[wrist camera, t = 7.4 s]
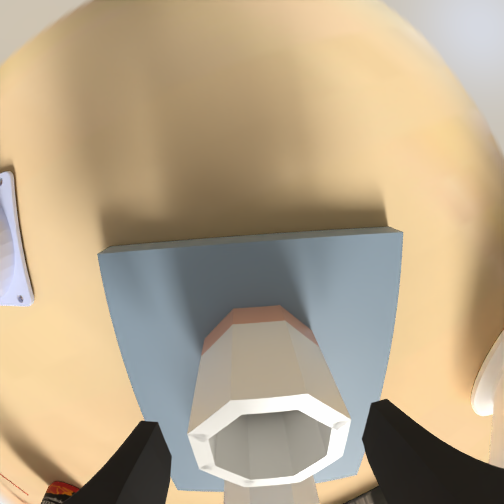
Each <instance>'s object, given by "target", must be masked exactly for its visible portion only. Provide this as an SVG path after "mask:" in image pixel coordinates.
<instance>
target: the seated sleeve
mask: <svg viewBox="0 0 504 504" xmlns="http://www.w3.org/2000/svg"><path fill="white" fill-rule="evenodd" d="M224 504H320V503H319V498H318V494H317V490H316V486H315V481H314V477H313V475H311V476H310V477H308V478H306V479H305V480H303V481H301V482H297V483H290V484H281V485H271V486H258V487H243V486H240V485H237V484H234V483H232V482H229V481H227V480H224Z"/></svg>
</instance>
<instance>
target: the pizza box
mask: <svg viewBox="0 0 504 504" xmlns="http://www.w3.org/2000/svg"><path fill="white" fill-rule="evenodd" d="M343 504H388V503H387V501H386V499H385V497H384V495H383V493H382V490H381V488H380V486H378V487H376V488H374V489H372V490H370V491H368V492H366V493H364V494H362V495H360V496H358V497H356V498H354V499H352V500H350V501H348V502H346V503H343Z"/></svg>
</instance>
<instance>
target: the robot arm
mask: <svg viewBox="0 0 504 504" xmlns="http://www.w3.org/2000/svg"><path fill="white" fill-rule="evenodd" d="M1 180H2V183H1ZM21 296H22V298H23V299H22V298H21ZM33 303H34V295H33V292H32V288H31V284H30V280H29V276H28V271H27V267H26V262H25V258H24V253H23V247H22V242H21V236H20V230H19V223H18V216H17V207H16V198H15V187H14V176H13V173H12V172H11V171H5V172H2V173H0V305H2V306H30V305H32V304H33ZM362 441H363V445H364V449H365V452H366V455H367V458H368V462H369V464H370V466H371V468H372V471H373V473H374V475H375V477H376V479H377V482H378V484H379V486H380V488H381V490H382V493H383V495H384V497H385V499H386V501H387V503H388V504H504V468H500V467H497V466H494V465H491V464H488V463H485V462H482V461H480V460H477V459H475V458H473V457H471V456H469V455H467V454H465V453H462V452H460V451H459V450H457V449H455V448H453V447H452V446H450V445H448V444H447V443H445V442H443V441H442V440H440V439H439V438H437V437H436V436H434V435H433V434H431V433H430V432H429V431H427V430H426V429H424V428H423V427H422V426H420V425H419V424H418V423H416V422H415V421H414V420H412V419H411V418H410V417H409V416H407V415H406V414H405V413H404V412H402V411H401V410H400V409H399V408H397V407H396V406H395V405H394V404H392V403H391V402H390V401H389V400H387V399H384V400H381V401H376V402H372V403H371V405H370V409H369V414H368V418H367V421H366V425H365V429H364V433H363V436H362ZM171 461H172V455H171V453H170V451H169V448H168V446H167V444H166V441H165V439H164V436H163V434H162V431H161V429H160V426H159V423H158V422H152V421H141V422H139V424H138V425H137V426H136V427H135V429H134V430H133V431H132V433H131V434H130V435H129V436H128V438H127V439H126V440H125V442H124V443H123V444H122V445H121V446H120V448H119V449H118V450H117V451H116V452H115V454H114V455H113V456H112V457H111V458H110V459H109V461H108V462H107V463H106V464H105V465H104V466H103V467H102V468H101V469H100V470H99V471H98V472H97V473H96V474H95V475H94V476H93V477H92V479H91V480H90V481H88V482H87V483H86V484H85V485H84V486H83V487H82V488H81V489H80V490H78V491H77V492H76V493H75V494H73V495H72V496H71V497H70V498H68V499H67V500H65V501H64V502H63V503H61V504H165V502H166V497H167V492H168V488H169V483H170V475H171Z"/></svg>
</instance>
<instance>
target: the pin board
mask: <svg viewBox="0 0 504 504" xmlns="http://www.w3.org/2000/svg"><path fill="white" fill-rule="evenodd" d="M402 244H403V232H402V231H399V230H396V229H394V228H391V227H371V228H353V229H335V230H319V231H303V232H287V233H272V234H258V235H244V236H230V237H217V238H204V239H191V240H179V241H167V242H155V243H143V244H132V245H121V246H110V247H108V248H107V249H105V250H103V251H102V252H100V253H98V254H97V255H98V260H99V266H100V271H101V276H102V281H103V286H104V290H105V295H106V299H107V303H108V307H109V311H110V315H111V319H112V323H113V327H114V331H115V334H116V338H117V341H118V345H119V348H120V351H121V355H122V358H123V361H124V364H125V367H126V370H127V373H128V376H129V379H130V382H131V385H132V388H133V391H134V393H135V396H136V399H137V401H138V404H139V407H140V409H141V412H142V414H143V417H144V419H145V421H152V422H158V423H159V426H160V429H161V431H162V434H163V436H164V439H165V441H166V444H167V446H168V448H169V451H170V453H171V455H172V461H171V475H170V476H171V478H172V480H173V482H174V484H175V486H176V488H177V489H178V490H186V491H213V492H224V479H222V478H219V477H217V476H214V475H212V474H209V473H207V472H205V471H202V470H200V469H199V467H198V464H197V461H196V459H195V456H194V453H193V450H192V447H191V444H190V441H189V438H188V435H187V432H188V426H189V420H190V414H191V409H192V403H193V397H194V392H195V386H196V381H197V376H198V370H199V365H200V360H201V354H202V349H203V344H204V339H205V338H206V337H207V336H208V335H209V334H210V332H211V331H212V330H213V329H214V328H215V327H216V326H217V325H218V324H219V323H220V322H221V321H222V320H223V319H224V318H225V317H226V316H227V315H228V314H229V313H230V312H231V311H232V309H233V308H249V307H263V306H275V305H281V306H282V307H283V308H284V309H286V310H287V311H288V312H289V313H291V314H292V315H293V316H294V317H296V318H297V319H298V320H299V321H301V322H302V323H303V324H304V325H306V326H307V327H308V328H309V329H311V330H312V332H313V334H314V336H315V338H316V341H317V343H318V345H319V347H320V349H321V352H322V354H323V356H324V358H325V361H326V363H327V365H328V367H329V370H330V372H331V374H332V376H333V379H334V381H335V383H336V385H337V388H338V390H339V392H340V394H341V397H342V399H343V401H344V404H345V406H346V408H347V410H348V413H349V415H350V417H351V423H350V427H349V432H348V436H347V440H346V444H345V448H344V452H343V456H342V457H340V458H339V459H337V460H336V461H334V462H333V463H331V464H330V465H328V466H326V467H325V468H323V469H321V470H320V471H318V472H317V473H315V474H313V477H314V481H315V483H321V482H326V481H331V480H336V479H341V478H345V477H349V476H354V475H357V472H358V470H359V467H360V464H361V461H362V458H363V455H364V452H365V449H364V445H363V441H362V436H363V433H364V429H365V425H366V421H367V418H368V414H369V409H370V405H371V403H372V402H376V401H379V400H380V396H381V392H382V388H383V383H384V379H385V374H386V369H387V365H388V359H389V354H390V349H391V343H392V337H393V331H394V324H395V317H396V310H397V302H398V293H399V284H400V273H401V260H402Z"/></svg>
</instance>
